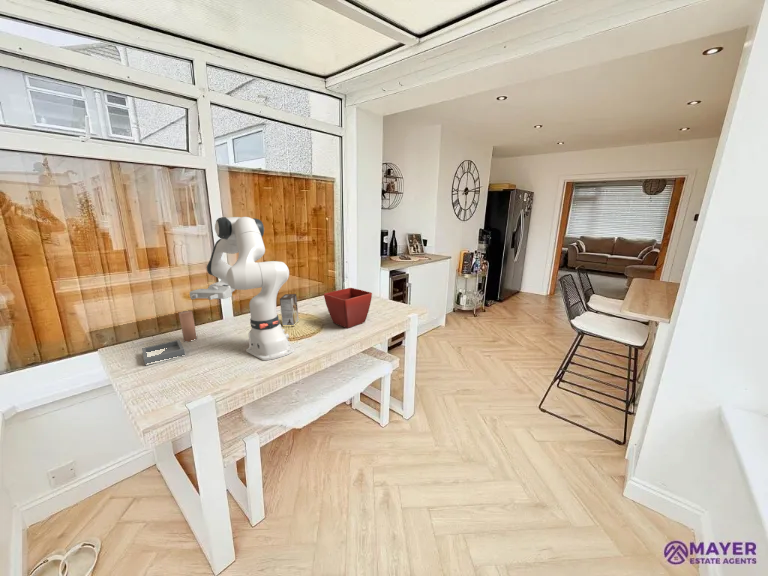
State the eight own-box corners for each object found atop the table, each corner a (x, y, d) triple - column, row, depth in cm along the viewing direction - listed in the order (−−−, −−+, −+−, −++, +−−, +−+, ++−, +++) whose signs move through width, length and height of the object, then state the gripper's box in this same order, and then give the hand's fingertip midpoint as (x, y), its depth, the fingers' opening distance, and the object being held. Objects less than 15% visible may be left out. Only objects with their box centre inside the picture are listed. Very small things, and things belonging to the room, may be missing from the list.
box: (185, 355, 139) (184, 349, 138) (145, 366, 130) (143, 359, 129) (180, 345, 150) (179, 339, 149) (143, 354, 141) (141, 348, 140)
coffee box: (287, 321, 178) (285, 293, 174) (299, 321, 178) (296, 293, 174) (282, 327, 169) (279, 298, 166) (294, 327, 169) (291, 298, 165)
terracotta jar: (197, 339, 156) (193, 312, 152) (185, 342, 152) (179, 315, 149) (195, 336, 160) (191, 309, 156) (183, 339, 157) (178, 312, 153)
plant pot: (352, 314, 187) (350, 287, 183) (373, 322, 174) (372, 292, 170) (324, 323, 174) (322, 293, 170) (346, 332, 161) (344, 300, 157)
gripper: (198, 285, 177) (180, 291, 164) (233, 285, 175) (218, 292, 162) (200, 296, 179) (182, 303, 166) (234, 296, 177) (219, 304, 164)
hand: (200, 298), depth 164 cm, fingers open, 8 cm apart
